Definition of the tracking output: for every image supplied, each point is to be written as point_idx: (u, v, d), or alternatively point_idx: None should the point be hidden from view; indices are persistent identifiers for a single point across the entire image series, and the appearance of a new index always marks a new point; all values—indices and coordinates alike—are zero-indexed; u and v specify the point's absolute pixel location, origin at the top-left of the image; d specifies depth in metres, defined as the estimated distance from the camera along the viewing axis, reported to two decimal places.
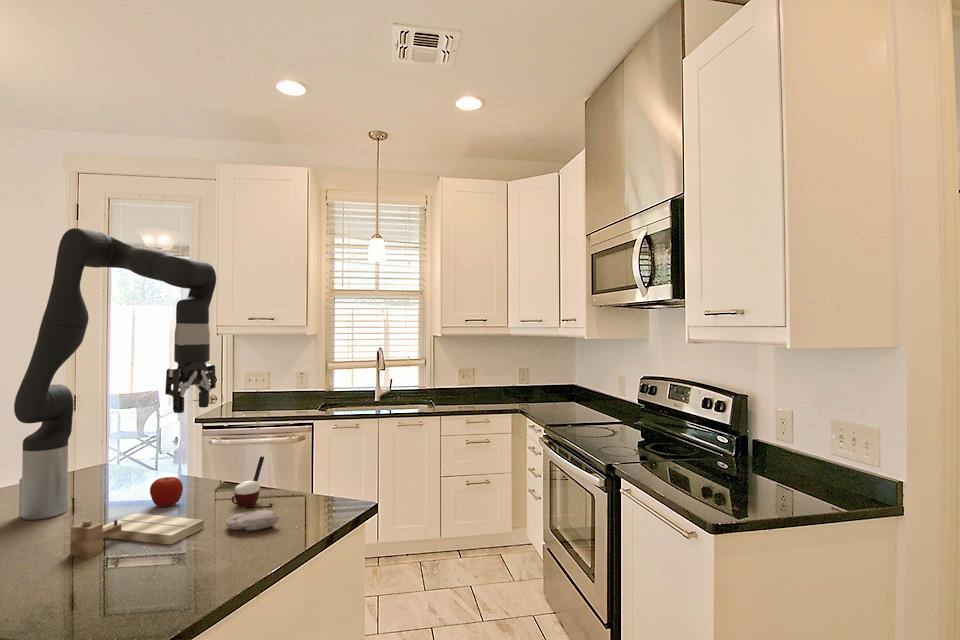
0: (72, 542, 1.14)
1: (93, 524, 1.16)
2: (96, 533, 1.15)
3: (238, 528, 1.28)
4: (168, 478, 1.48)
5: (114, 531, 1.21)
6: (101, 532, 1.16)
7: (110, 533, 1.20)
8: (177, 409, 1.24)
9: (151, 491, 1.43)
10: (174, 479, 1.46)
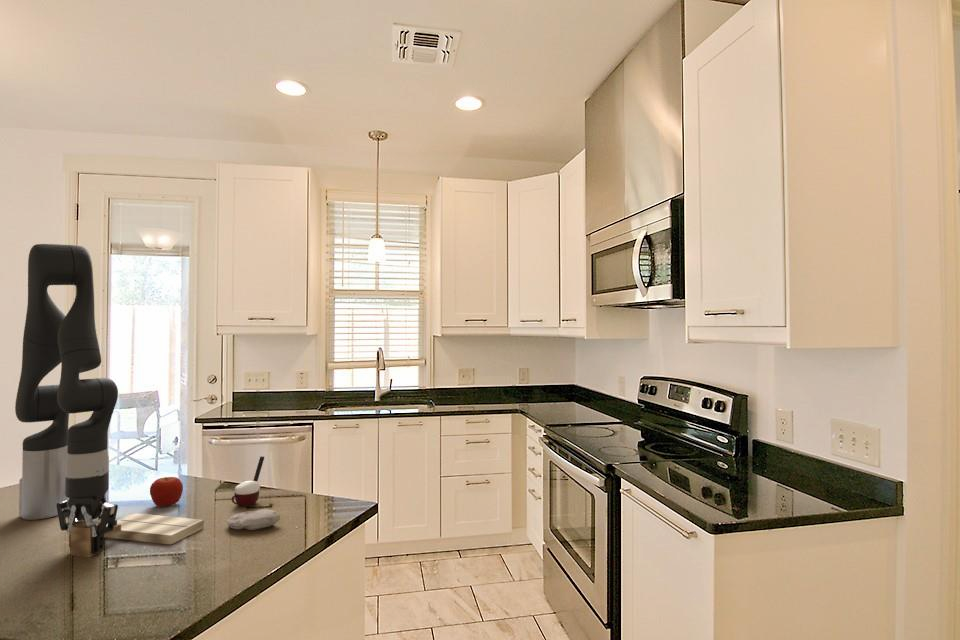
0: (72, 542, 1.14)
1: None
2: None
3: (239, 527, 1.28)
4: (168, 478, 1.48)
5: (114, 531, 1.21)
6: None
7: (110, 533, 1.20)
8: (102, 548, 1.15)
9: (151, 491, 1.43)
10: (174, 479, 1.46)
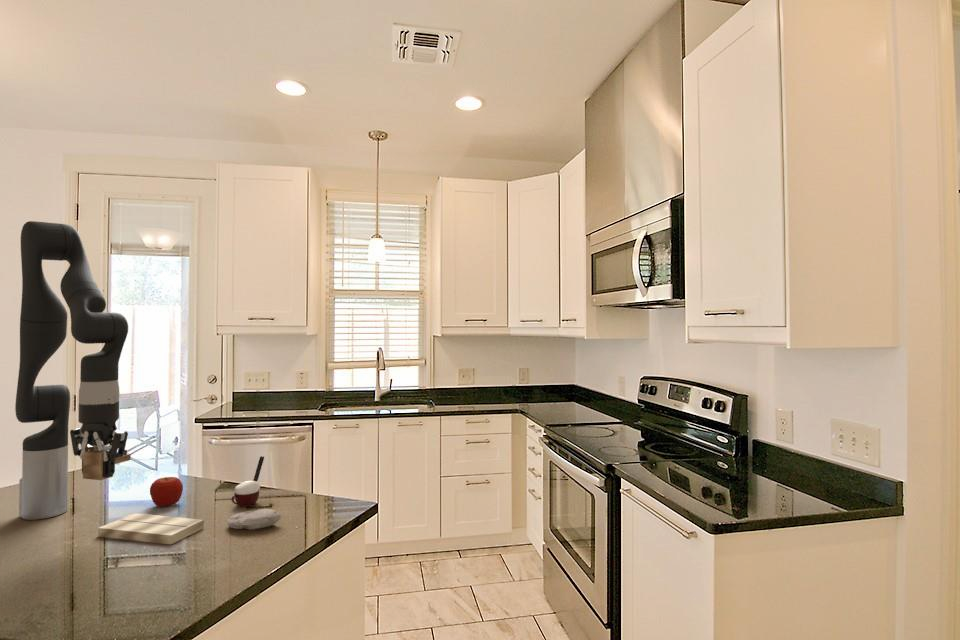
0: (85, 466, 1.20)
1: None
2: None
3: (240, 527, 1.28)
4: (168, 478, 1.48)
5: (124, 459, 1.27)
6: None
7: (120, 461, 1.26)
8: (113, 472, 1.21)
9: (151, 491, 1.43)
10: (174, 479, 1.46)
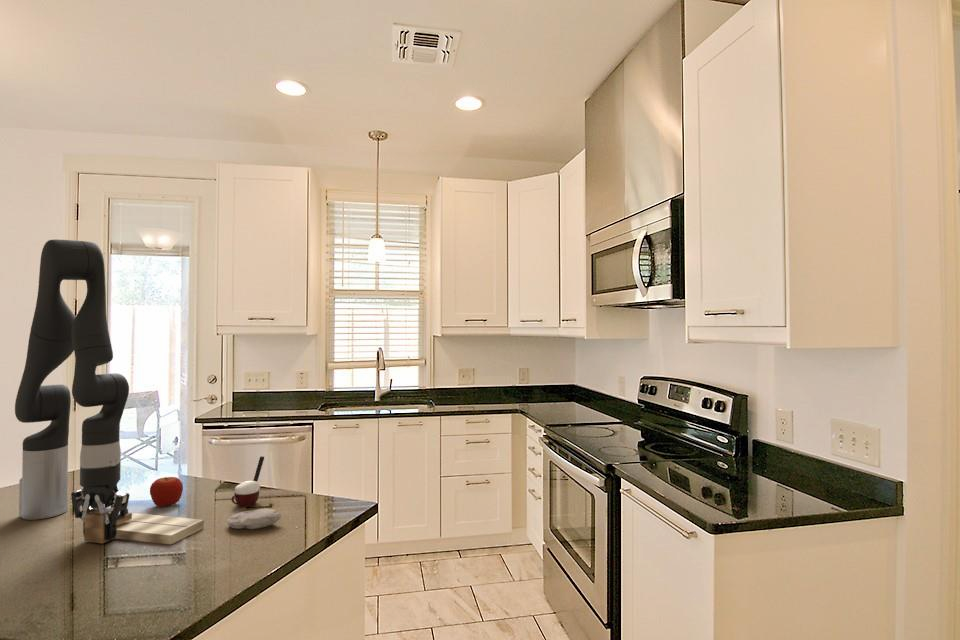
0: (86, 529, 1.20)
1: None
2: None
3: (240, 527, 1.28)
4: (168, 478, 1.48)
5: (125, 519, 1.27)
6: None
7: (121, 521, 1.26)
8: (114, 534, 1.21)
9: (151, 491, 1.43)
10: (174, 479, 1.46)
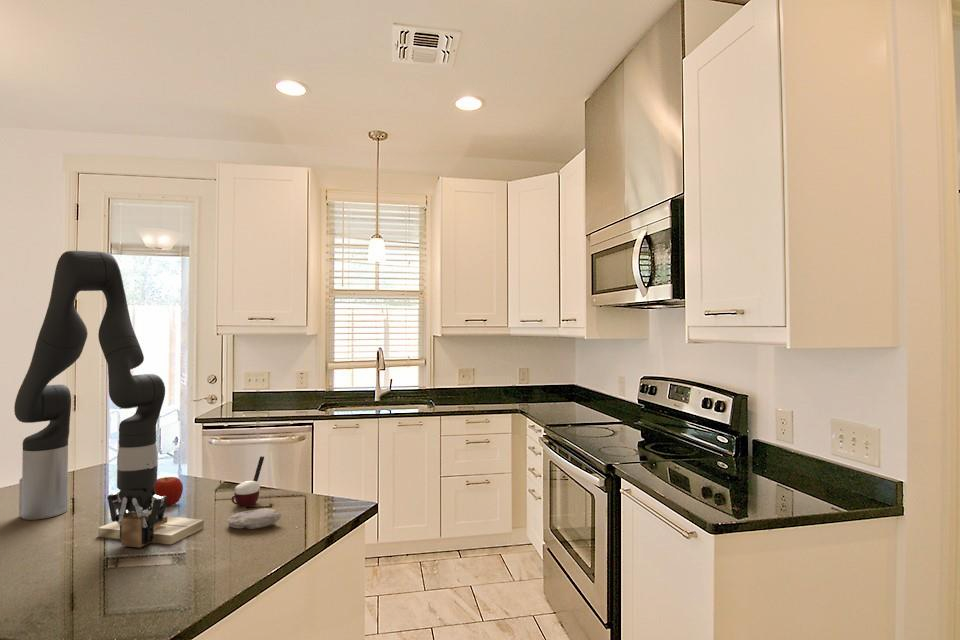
0: (123, 533, 1.18)
1: None
2: None
3: (240, 526, 1.29)
4: (168, 478, 1.48)
5: (161, 522, 1.24)
6: None
7: (157, 524, 1.23)
8: (152, 538, 1.19)
9: None
10: (174, 479, 1.46)
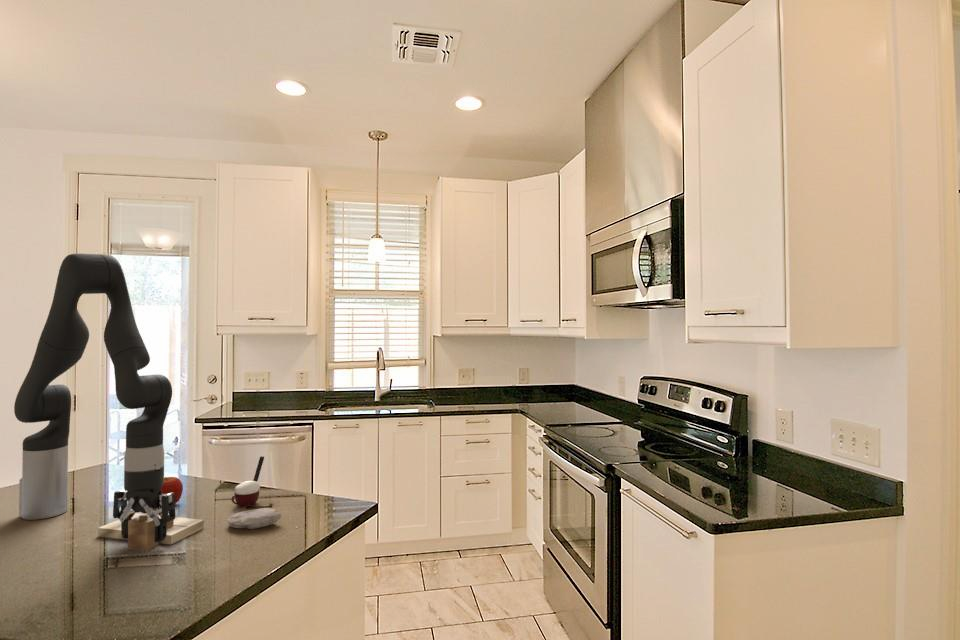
0: (130, 536, 1.18)
1: (149, 518, 1.19)
2: (152, 527, 1.18)
3: (240, 526, 1.29)
4: (168, 478, 1.48)
5: (167, 525, 1.24)
6: None
7: None
8: (165, 536, 1.18)
9: None
10: (174, 479, 1.46)
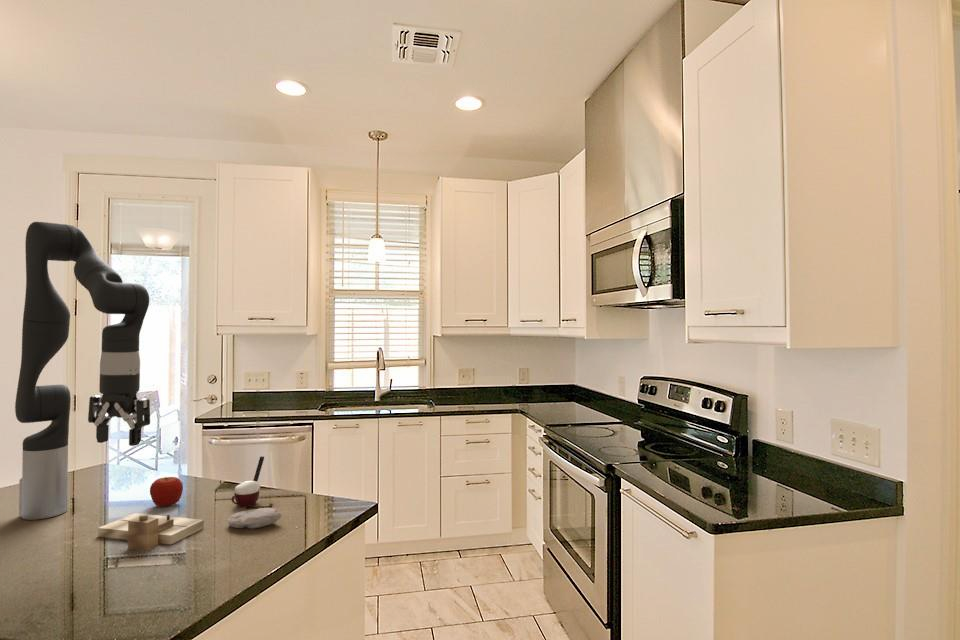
0: (130, 536, 1.18)
1: (149, 518, 1.19)
2: (152, 527, 1.18)
3: (241, 526, 1.29)
4: (168, 478, 1.48)
5: (167, 525, 1.24)
6: (157, 526, 1.19)
7: (164, 527, 1.23)
8: (139, 440, 1.20)
9: (151, 491, 1.43)
10: (174, 479, 1.46)
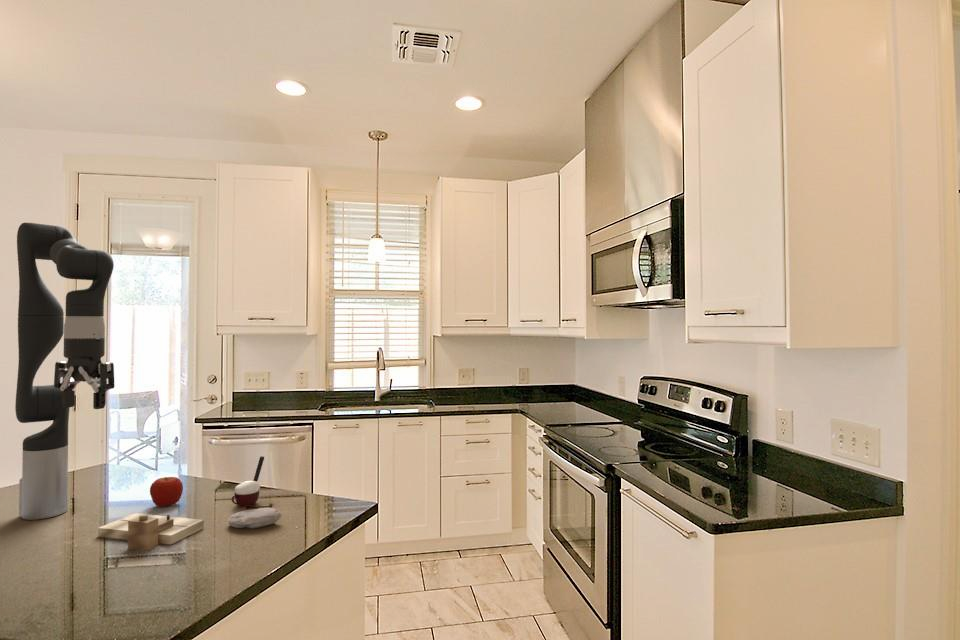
0: (130, 536, 1.18)
1: (149, 518, 1.19)
2: (152, 527, 1.18)
3: (241, 526, 1.29)
4: (168, 478, 1.48)
5: (167, 525, 1.24)
6: (157, 526, 1.19)
7: (164, 527, 1.23)
8: (104, 404, 1.21)
9: (151, 491, 1.43)
10: (174, 479, 1.46)
